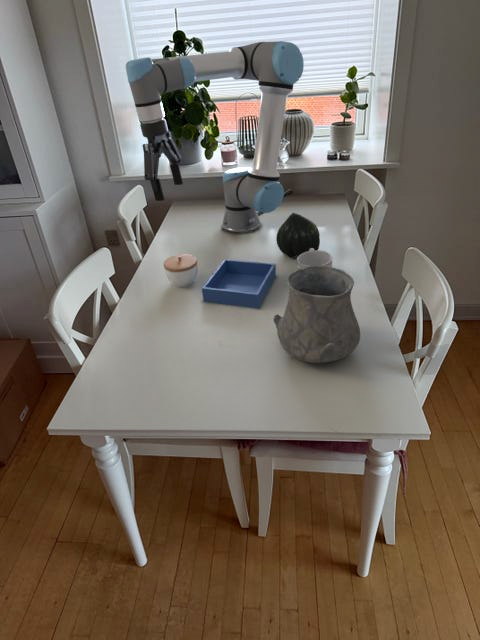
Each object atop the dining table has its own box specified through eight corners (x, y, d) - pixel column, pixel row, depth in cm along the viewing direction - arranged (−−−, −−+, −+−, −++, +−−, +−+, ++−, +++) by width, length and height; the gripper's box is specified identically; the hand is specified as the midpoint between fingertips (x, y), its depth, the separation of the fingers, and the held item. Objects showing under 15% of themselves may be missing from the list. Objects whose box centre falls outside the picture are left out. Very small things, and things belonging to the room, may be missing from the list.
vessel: (292, 315, 128) (292, 251, 117) (369, 335, 118) (377, 267, 107) (256, 359, 113) (252, 291, 102) (341, 386, 103) (347, 313, 92)
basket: (225, 271, 153) (224, 259, 150) (275, 276, 147) (275, 263, 145) (203, 301, 138) (201, 288, 135) (258, 308, 132) (257, 294, 130)
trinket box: (185, 271, 155) (181, 246, 150) (206, 280, 148) (203, 255, 143) (160, 283, 149) (155, 258, 143) (181, 294, 142) (177, 267, 137)
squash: (320, 251, 148) (319, 207, 150) (275, 253, 151) (274, 210, 153) (319, 262, 162) (318, 222, 164) (278, 264, 165) (277, 224, 166)
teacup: (330, 289, 139) (331, 265, 134) (295, 287, 141) (295, 264, 136) (332, 267, 150) (333, 245, 145) (299, 266, 152) (299, 245, 148)
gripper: (160, 111, 140) (175, 178, 152) (118, 132, 122) (140, 207, 134) (181, 109, 138) (195, 177, 150) (143, 130, 119) (162, 207, 131)
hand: (169, 192), depth 142 cm, fingers open, 13 cm apart
